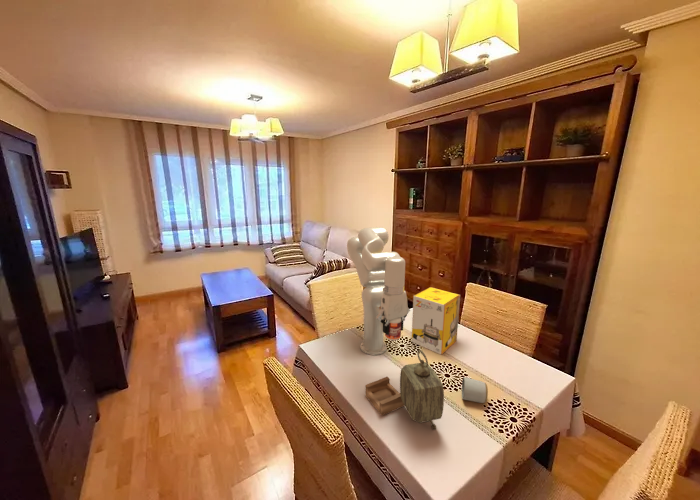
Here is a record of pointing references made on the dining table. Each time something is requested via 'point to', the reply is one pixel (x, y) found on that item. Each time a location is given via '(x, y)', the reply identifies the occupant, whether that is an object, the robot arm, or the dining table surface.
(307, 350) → the dining table surface
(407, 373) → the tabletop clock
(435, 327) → the packaging box
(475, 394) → the ceramic mug
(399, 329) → the pill bottle
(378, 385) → the tray
